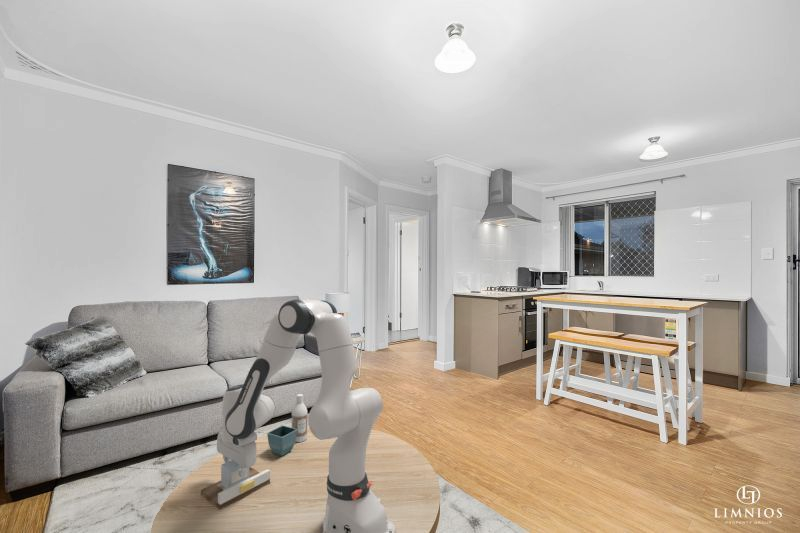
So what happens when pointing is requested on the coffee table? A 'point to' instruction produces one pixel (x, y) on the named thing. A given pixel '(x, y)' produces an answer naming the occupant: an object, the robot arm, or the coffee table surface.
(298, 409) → the bath foam
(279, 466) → the coffee table surface
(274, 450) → the flower pot
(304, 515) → the coffee table surface
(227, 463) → the product carton
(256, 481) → the price rail
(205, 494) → the shelf board
